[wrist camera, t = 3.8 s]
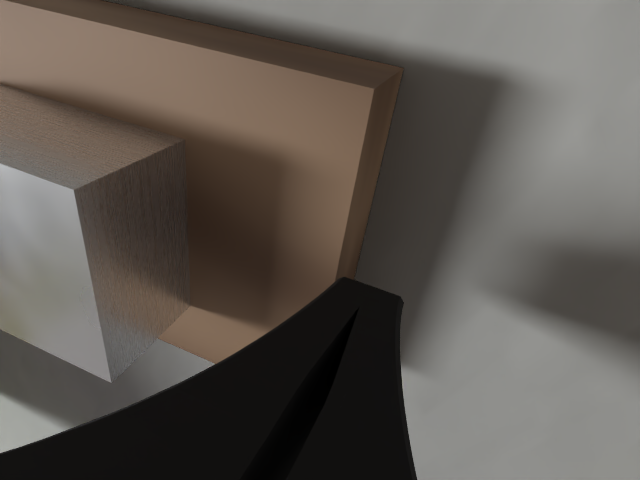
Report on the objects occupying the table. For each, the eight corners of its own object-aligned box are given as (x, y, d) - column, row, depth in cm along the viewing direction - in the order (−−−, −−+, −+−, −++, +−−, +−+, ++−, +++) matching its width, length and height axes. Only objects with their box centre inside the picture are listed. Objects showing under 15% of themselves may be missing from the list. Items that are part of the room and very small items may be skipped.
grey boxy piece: (190, 305, 12) (111, 383, 10) (31, 240, 14) (-73, 294, 11) (184, 139, 10) (73, 190, 7) (-14, 79, 11) (-163, 105, 9)
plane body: (338, 347, 14) (309, 405, 12) (-47, 194, 19) (-114, 219, 17) (403, 67, 10) (374, 88, 8) (-138, -54, 14) (-250, -61, 12)
